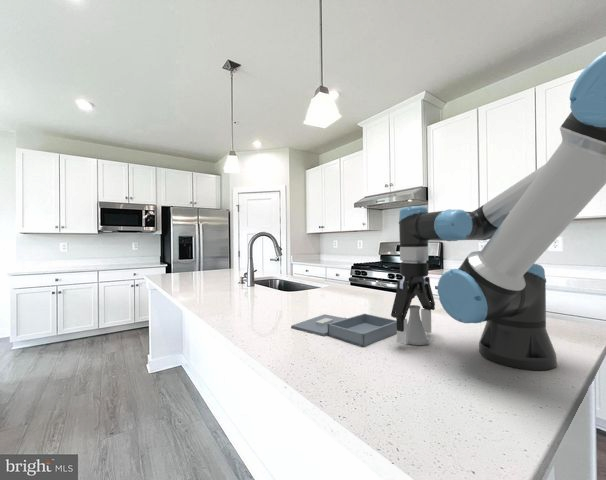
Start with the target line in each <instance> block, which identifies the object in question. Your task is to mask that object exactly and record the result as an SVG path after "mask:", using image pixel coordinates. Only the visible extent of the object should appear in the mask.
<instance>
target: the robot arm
mask: <svg viewBox="0 0 606 480" xmlns="http://www.w3.org/2000/svg"><path fill="white" fill-rule="evenodd" d="M570 90H571V91H570V94H569V100H570V107H569V108H570V111H571V112H570V113H569V114H568V115H567V117H566V119H565V120H564V121H563V123H561V125H560V127H559V131H560V135H561V138H562V139H561V143H560V144H559V145H558V147H557V149H556V150H555V151H554V152H553V154H552V155H551V157H550V158H549V159H548V160H547V162H546V163H544V164H542V165H541V166H540V167H539V168H536V170H534V171H533V172H531V173H530V174H528V175H527V176H524V178H521V179H520V180H518V181H517V182H516V183H515V184H513V185H512V186H510V187H508V188H506V189H505V190H504V191H501V193H499V194H497V195H496V196H494V197H493V198H491V199H489V200H488V201H487V202H485V203H484V204H483V205H480V206H479V207H478V208H476V209H475V210H473V211H466V210H463V209H446V210H439V211H433V212H428V208H427V207H426V206H423V205H422V206H421V205H419V206H417V205H415V206H404V207H403V208H400V210H399V218H398V225H399V226H398V228H399V229H398V230H399V233H398V234H399V251H398V252H399V260H400V261H401V262H400V263H399V274H400V276H402V277H403V278H404V280H398V281H397V284H396V285H397V286H396V292H395V296H394V301H393V305H392V309H391V313H390V316H391V317H392V318H394V319H395V320H396V321H397V333H396V343H400V344H404V345H409V344H408V335H407V324H408V318H406V317H407V314H408V311H409V310H410V309H409V307H410V305H412V301H413V299H415V297H417V298H418V301H419V303H420V305H421V306H422V308H420V319H421V322H422V325H423V328H424V331H425V333H429V334H431V333H432V311H434V310H436V308H435V306H436V302H435V299H434V295H433V291H432V287H431V283H430V282H431V280H430V276H429V263H428V262H427V261H429V241H432V242H433V241H437V242H439V241H440V242H443V241H446V242H458V241H487V240H488V241H487V242H486V244H485V245H484V247H482V249H481V250H478V251H477V250H476V251H471V252H470V253H469V254H468V255H466V257H465V259H464V260H463V261H462V263H461V265H460V266H459V267H458V268H453V269H450V270H448V271H445V272H444V273H442V275H441V276H440V278H439V280H438V283H437V294H438V296H439V297H438V299H439V302H440V304H441V306H442V308H443V310H444V311H445V312H446V314H447V315H449V316H450V317H451V319H453V320H456V321H457V322H459V323H463V324H480V323H483V322H485V325H484V328H483V331H482V334H481V336H480V338H479V343H478V351H479V353H480V355H481V356H482V357H484V358H485V359H488V360H489V361H492V362H494V363H496V364H499V365H503V366H506V367H510V368H511V367H512V368H515V369H521V370H528V371H529V370H530V371H548V370H552V369H554V368H556V367H557V359H558V358H557V354H556V351H555V348H554V346H553V343H552V340H551V339H550V336H549V333H548V331H547V311H546V310H547V308H546V307H547V301H546V299H547V298H546V296H547V295H546V294H547V293H546V288H547V287H546V286H547V285H546V284H547V278H546V272H545V271H546V270H545V268H544V267H543V266H542V265H540V264H538V263H536V262H537V261H538V260H539V259H540V258H541V256H542V255H543V254H544V253H545V252H546V251H547V250H548V248H550V246H551V245H552V244H553V243H554V242H555V241H556V240H557V238H558V237H559V236H560V235H561V234H562V233H563V232H564V231H565V229H566V228H567V227H568V226H569V225H570V224H571V223H572V222H573V221H574V220H575V218H576V217H577V216H579V214H580V213H581V212H582V211H583V210H584V208H585V207H586V206H588V204H589V203H590V202H591V201H592V200H593V199H594V198H595V196H596V195H597V194H598V193H599V192H600V191H601V190H602V189H603V188H604V186H605V185H606V51H605V52H603V53H601V54H599V55H598V56H597V57H596V58H595V59H593V60H592V61H591V62H590V63H589V64H588V65H587V66H586V67H585V68H584V70H583V71H581V72H580V74H579V75H578V77H577V78H576V79H575V81H574V84H573V85H572V88H571V89H570Z"/></svg>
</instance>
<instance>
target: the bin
mask: <svg viewBox="0 0 606 480" xmlns="http://www.w3.org/2000/svg"><path fill="white" fill-rule="evenodd" d="M346 318H347V317H346ZM393 335H397V320H396V319H391V318H387V317H381V316H377V315H373V314H368V313H362V314H358V315H354V316H351V317H348V318H347V319H344V320H340V321H337V322H333V323H330V324H328V335H327V337H330V338H332V339H333V338H334V339H337V340H340V341H343V342H347V343H349V344H352V345H355V346H358V347H362V348H364V347H367V346H369V345H371V344H374V343H376V342H379V341H381V340H384V339H386V338H388V337H391V336H393Z"/></svg>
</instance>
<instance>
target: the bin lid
mask: <svg viewBox="0 0 606 480" xmlns="http://www.w3.org/2000/svg"><path fill="white" fill-rule="evenodd" d="M344 319H347V317H346V318H345V317H341V316H336V315H330V314H325V313H324V314H322V315H319V316H315V317H312V318H310V319H309V318H308V319H306V320H304V321H301V322H298V323H295V324H292V325H291V326H290V328H291V329H294V330H298V331H301V332H305V333H309V334H314V335H318V336H321V337H326V336H328V324H330V323H333V322H337V321H340V320H344Z"/></svg>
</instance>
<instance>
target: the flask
mask: <svg viewBox="0 0 606 480" xmlns="http://www.w3.org/2000/svg"><path fill="white" fill-rule="evenodd" d="M408 310H409V315H408V316H409V317H408V320H407V335H408V344H407V345H412V346H413V345H414V346H425V345H426V346H427V345H429V339H428V336H427V332H425V331H424V328H423V325H422V322H421V313H420V311H421V306H420V305H415V304H413V305H412V304H410V307H409V309H408Z"/></svg>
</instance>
